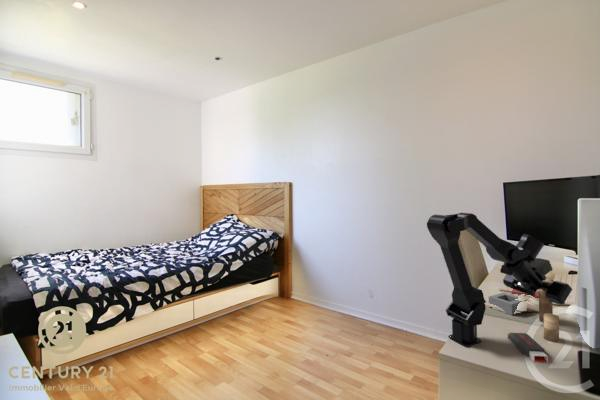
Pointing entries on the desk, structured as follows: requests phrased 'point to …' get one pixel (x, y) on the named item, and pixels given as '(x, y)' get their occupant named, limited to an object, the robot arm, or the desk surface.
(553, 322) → the short peg
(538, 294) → the red screwdriver
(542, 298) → the tall peg
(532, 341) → the usb drive
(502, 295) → the grey slotted box
